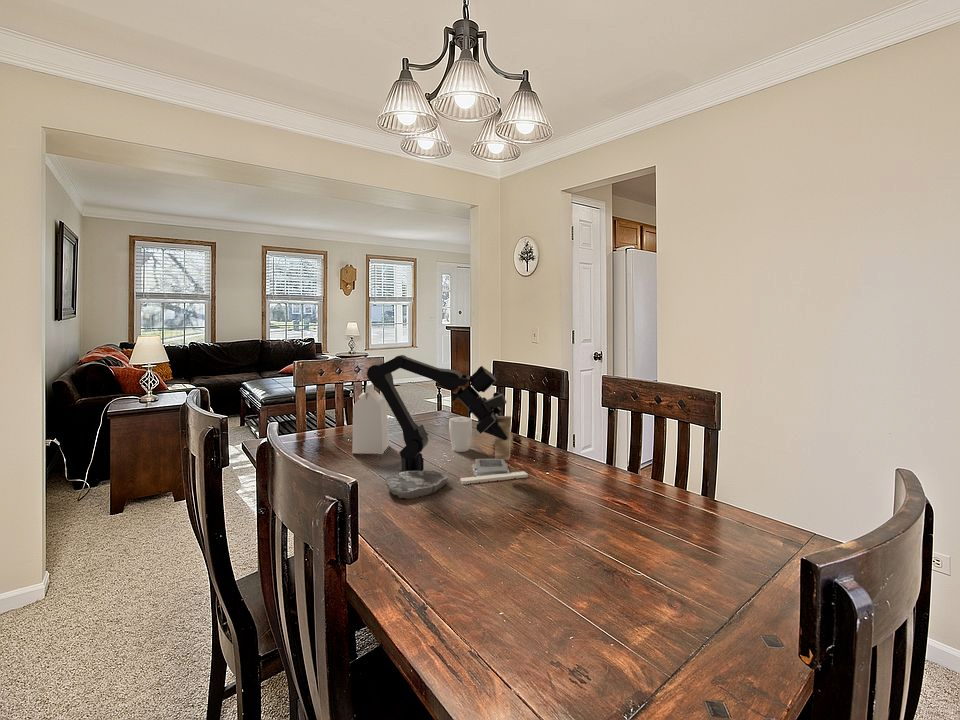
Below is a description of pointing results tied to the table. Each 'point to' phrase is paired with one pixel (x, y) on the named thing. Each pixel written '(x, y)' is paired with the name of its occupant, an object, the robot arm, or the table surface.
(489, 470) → the keeper
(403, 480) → the brain slice
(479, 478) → the door edge strip
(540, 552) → the table surface
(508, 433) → the block
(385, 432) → the milk
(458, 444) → the cup
